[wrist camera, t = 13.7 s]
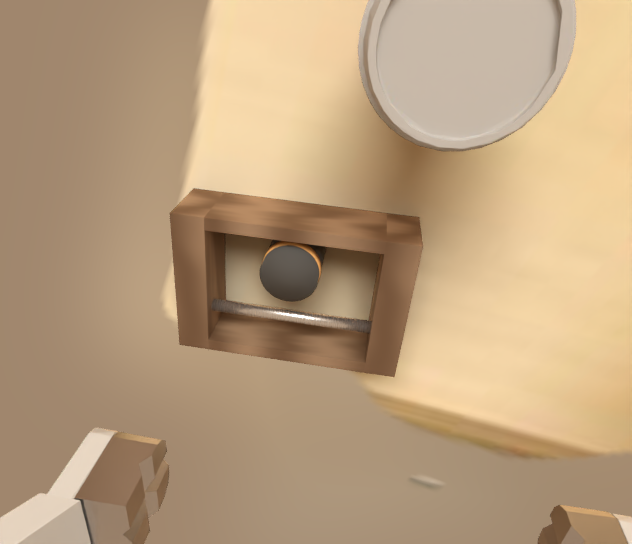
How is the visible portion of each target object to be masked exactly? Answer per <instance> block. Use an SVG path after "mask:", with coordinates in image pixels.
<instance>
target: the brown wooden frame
mask: <svg viewBox="0 0 632 544" xmlns="http://www.w3.org/2000/svg"><path fill="white" fill-rule="evenodd" d="M170 223H171V236H172V249H173V263H174V276H175V289H176V302H177V316H178V329H179V342H180V345H185V346H192V347H198V348H205V349H212V350H218V351H225V352H232V353H238V354H245V355H251V356H258V357H265V358H271V359H278V360H284V361H292V362H298V363H304V364H312V365H318V366H325V367H331V368H337V369H344V370H351V371H357V372H364V373H371V374H377V375H384V376H390V377H395V372H396V368H397V363H398V358H399V354H400V349H401V345H402V340H403V336H404V331H405V326H406V322H407V317H408V313H409V308H410V303H411V299H412V294H413V290H414V285H415V280H416V276H417V271H418V267H419V262H420V258H421V253H422V248H423V243H422V236H421V228H420V220H419V217H412V216H404V215H397V214H389V213H381V212H373V211H365V210H357V209H350V208H342V207H334V206H326V205H318V204H310V203H303V202H295V201H287V200H279V199H271V198H263V197H256V196H248V195H240V194H232V193H224V192H216V191H209V190H201V189H193V190H192V191H191V192H190V193H189V194H188V195H187V196H186V197H185V198H184V199H183V200H182V201H181V202H180V203H179V204H178V205H177V206H176V207H175V208H174V209H173V210H172V211H171V212H170ZM225 233H228V234H235V235H243V236H250V237H258V238H265V239H273V240H280V241H288V242H295V243H303V244H310V245H318V246H325V247H333V248H340V249H348V250H355V251H363V252H370V253H378V254H380V257H379V263H378V269H377V275H376V281H375V287H374V293H373V299H372V305H371V311H370V316H369V321H371V329H370V333H363V332H356V331H349V330H342V329H336V328H329V327H322V326H315V325H308V324H301V323H294V322H287V321H280V320H274V319H267V318H260V317H253V316H246V315H239V314H232V313H225V312H219V311H212V309H211V305H212V301H213V299H221V300H226V286H225Z"/></svg>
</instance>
